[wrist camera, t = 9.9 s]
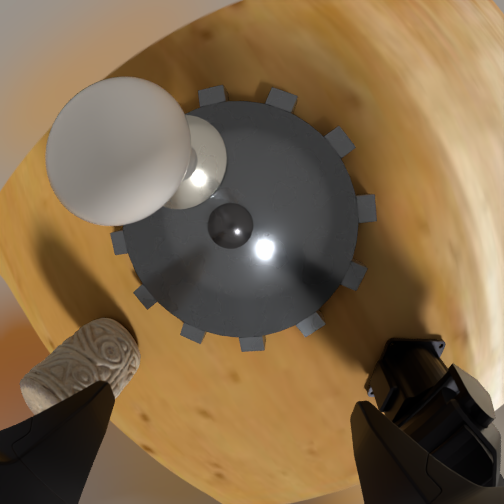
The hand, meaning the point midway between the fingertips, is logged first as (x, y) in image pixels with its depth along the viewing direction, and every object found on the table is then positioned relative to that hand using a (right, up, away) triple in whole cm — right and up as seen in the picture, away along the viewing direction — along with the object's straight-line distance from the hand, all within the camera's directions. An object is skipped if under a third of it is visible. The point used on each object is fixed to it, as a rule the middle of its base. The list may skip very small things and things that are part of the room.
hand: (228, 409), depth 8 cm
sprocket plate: (0, +8, +12) cm, 14 cm away
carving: (-13, -3, +16) cm, 21 cm away
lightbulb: (-4, +11, +9) cm, 15 cm away
